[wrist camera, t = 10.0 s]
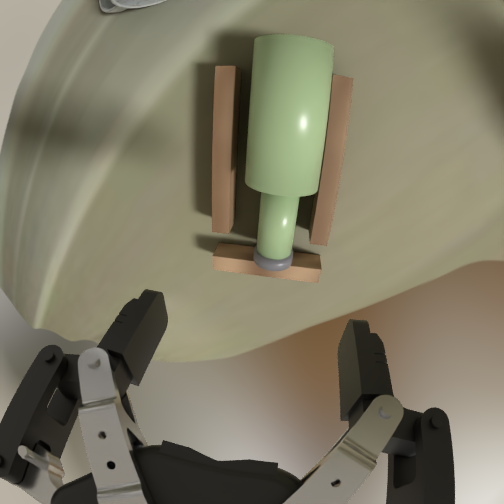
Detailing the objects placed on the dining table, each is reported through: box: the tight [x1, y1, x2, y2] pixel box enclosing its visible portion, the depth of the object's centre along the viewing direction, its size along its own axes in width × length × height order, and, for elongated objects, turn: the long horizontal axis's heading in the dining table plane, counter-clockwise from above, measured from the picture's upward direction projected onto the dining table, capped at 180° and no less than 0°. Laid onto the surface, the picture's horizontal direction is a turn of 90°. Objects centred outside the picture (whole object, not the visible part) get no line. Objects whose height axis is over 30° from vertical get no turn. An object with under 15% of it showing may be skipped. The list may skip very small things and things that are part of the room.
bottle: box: [245, 34, 334, 271], centre depth 19 cm, size 6×6×18 cm
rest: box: [212, 66, 353, 283], centre depth 22 cm, size 10×18×2 cm, turn 176°
